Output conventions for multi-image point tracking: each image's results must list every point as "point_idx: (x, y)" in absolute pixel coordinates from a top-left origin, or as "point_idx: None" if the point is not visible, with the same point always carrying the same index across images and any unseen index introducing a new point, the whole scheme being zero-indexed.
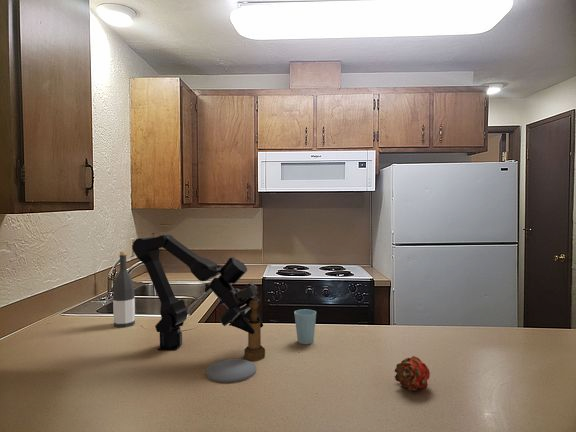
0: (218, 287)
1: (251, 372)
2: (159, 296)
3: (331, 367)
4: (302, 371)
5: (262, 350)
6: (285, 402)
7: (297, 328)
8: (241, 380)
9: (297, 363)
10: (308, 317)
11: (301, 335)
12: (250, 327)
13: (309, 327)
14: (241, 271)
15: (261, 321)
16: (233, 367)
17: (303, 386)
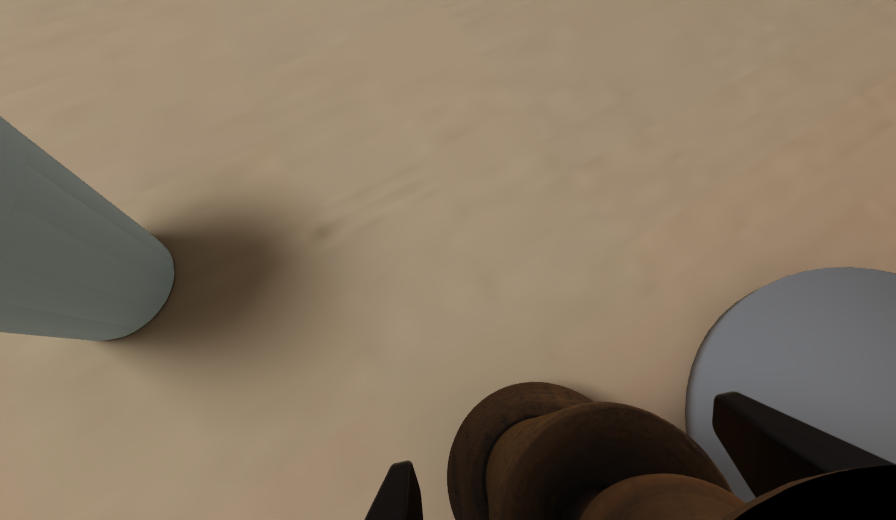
0: None
1: (832, 274)
2: None
3: (449, 19)
4: (567, 93)
5: (535, 387)
6: (885, 10)
7: (67, 284)
8: None
9: (487, 158)
10: None
11: (131, 262)
12: (842, 444)
13: (69, 172)
14: None
15: (376, 515)
16: (878, 450)
17: (706, 22)
